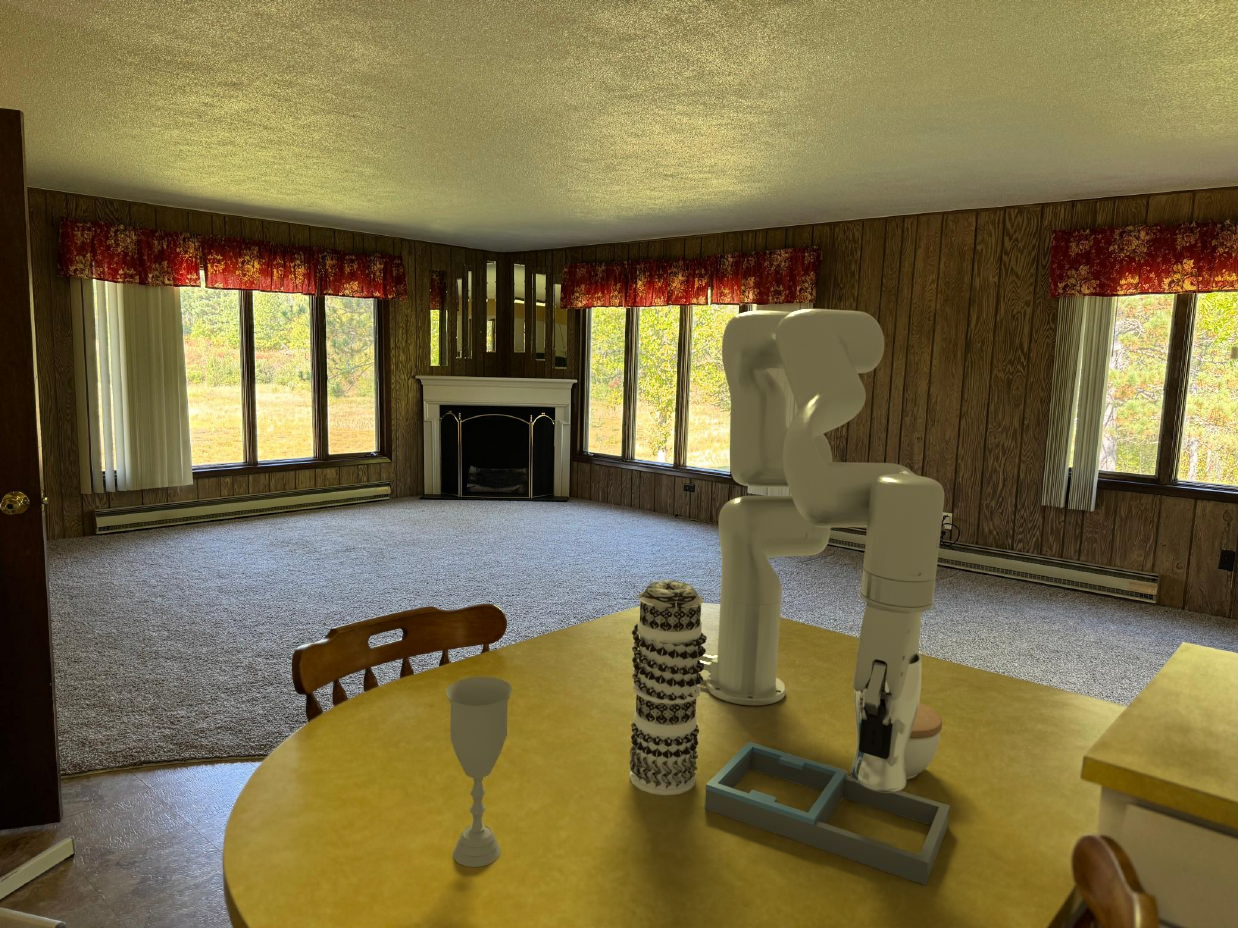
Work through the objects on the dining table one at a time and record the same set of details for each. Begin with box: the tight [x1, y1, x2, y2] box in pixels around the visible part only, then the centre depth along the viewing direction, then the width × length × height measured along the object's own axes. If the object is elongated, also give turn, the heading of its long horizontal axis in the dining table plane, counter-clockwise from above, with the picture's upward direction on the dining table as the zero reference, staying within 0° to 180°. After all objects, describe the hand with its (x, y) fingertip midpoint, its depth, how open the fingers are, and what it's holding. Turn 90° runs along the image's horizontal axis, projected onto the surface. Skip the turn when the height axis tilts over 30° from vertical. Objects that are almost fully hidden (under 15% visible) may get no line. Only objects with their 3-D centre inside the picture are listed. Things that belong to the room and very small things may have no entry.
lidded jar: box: [855, 702, 943, 780], centre depth 108 cm, size 11×11×9 cm
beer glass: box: [850, 652, 923, 793], centre depth 92 cm, size 7×7×15 cm
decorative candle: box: [629, 580, 708, 796], centre depth 102 cm, size 9×9×25 cm
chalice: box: [445, 676, 513, 868], centre depth 86 cm, size 7×7×18 cm
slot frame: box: [704, 741, 951, 886], centre depth 96 cm, size 25×13×3 cm, turn 59°
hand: (882, 739), depth 92 cm, fingers closed on beer glass, 6 cm apart
